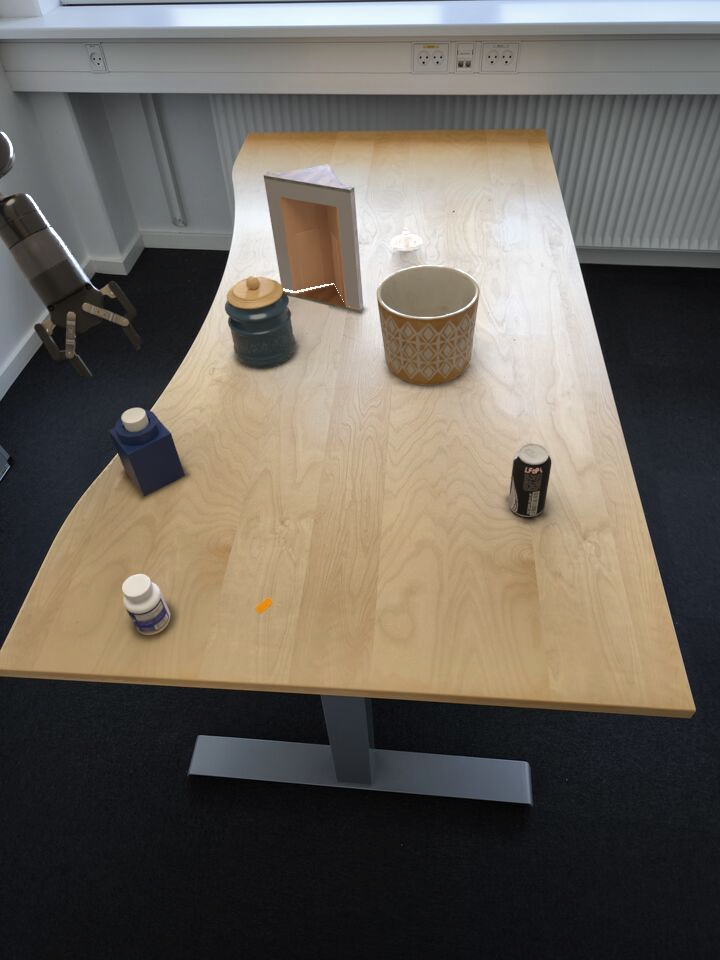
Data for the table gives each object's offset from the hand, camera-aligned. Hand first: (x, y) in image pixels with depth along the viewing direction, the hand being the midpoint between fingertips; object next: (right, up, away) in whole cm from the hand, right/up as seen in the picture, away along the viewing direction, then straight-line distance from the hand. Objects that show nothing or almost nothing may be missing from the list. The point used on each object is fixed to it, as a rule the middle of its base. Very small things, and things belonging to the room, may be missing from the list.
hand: (114, 362), depth 113 cm
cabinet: (+31, +25, +58) cm, 71 cm away
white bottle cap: (+1, -9, +10) cm, 13 cm away
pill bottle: (+7, -39, -5) cm, 40 cm away
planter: (+52, +6, +36) cm, 63 cm away
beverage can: (+65, -23, +6) cm, 69 cm away
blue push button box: (+1, -17, +18) cm, 25 cm away
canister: (+18, +9, +43) cm, 47 cm away
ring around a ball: (+50, +40, +70) cm, 95 cm away
